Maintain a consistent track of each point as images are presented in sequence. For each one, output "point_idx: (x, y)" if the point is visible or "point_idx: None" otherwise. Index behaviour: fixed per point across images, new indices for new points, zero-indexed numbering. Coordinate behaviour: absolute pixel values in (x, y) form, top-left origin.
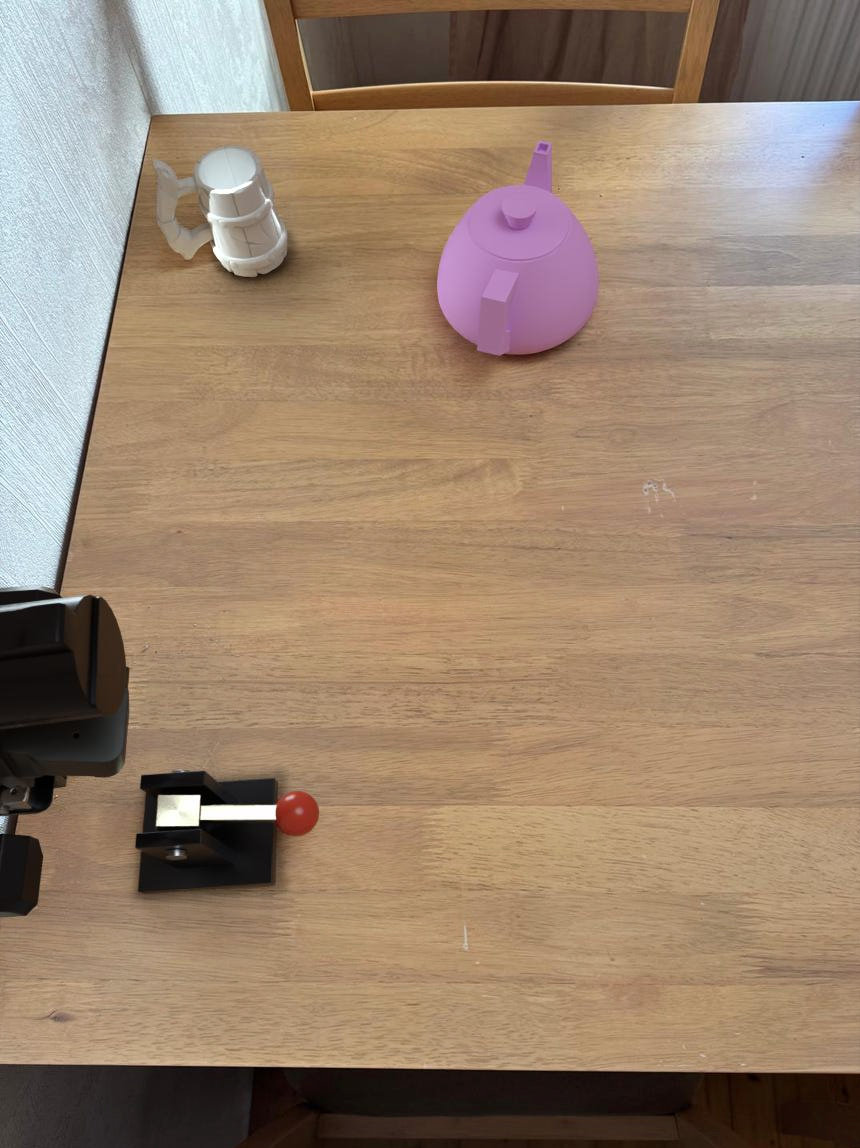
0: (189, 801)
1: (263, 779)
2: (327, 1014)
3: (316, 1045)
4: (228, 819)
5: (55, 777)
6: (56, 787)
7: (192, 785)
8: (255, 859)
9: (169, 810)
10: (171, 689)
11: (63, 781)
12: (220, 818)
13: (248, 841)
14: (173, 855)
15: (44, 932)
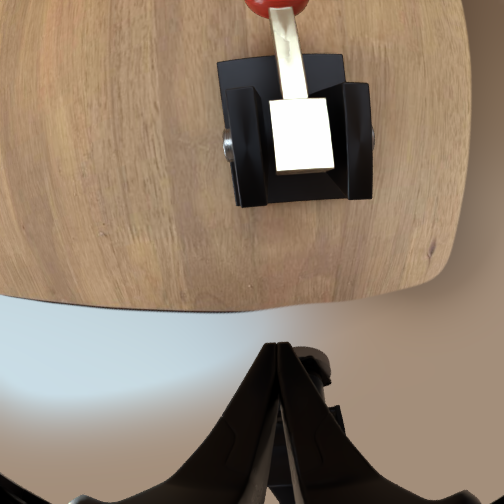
0: (283, 116)
1: (219, 74)
2: (442, 27)
3: (462, 41)
4: (302, 61)
5: (296, 401)
6: (314, 387)
7: (256, 108)
8: (317, 71)
9: (303, 148)
10: (132, 202)
11: (285, 357)
12: (302, 72)
13: None
14: (373, 137)
15: (370, 273)
